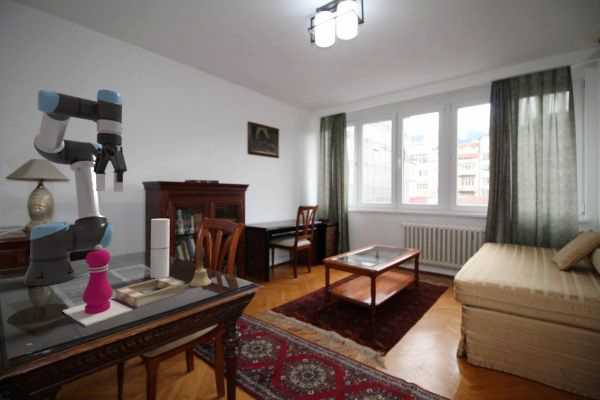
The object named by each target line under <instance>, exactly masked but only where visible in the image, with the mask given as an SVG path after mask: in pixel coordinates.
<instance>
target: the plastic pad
mask: <svg viewBox="0 0 600 400" xmlns="http://www.w3.org/2000/svg"><path fill="white" fill-rule="evenodd" d="M108 301H110V308H109V309H108V310H106V311H104V312H101V313H96V314H87V313H85V306H86V305H87V304H86V303H84V304H80V305H77V306H73V307H70V308H65V309H63V310H62V313H63V312H64V314H65V315H67V316H68V315H69V317H70V318H71V317H72V318H71V319H73V320H74V321H76V322H78V323H79V324H81V325H83V326H84V327H89V326H92V325H95V324H98V323H101V322H103V321H106V320H109V319H112V318H116V317H118V316H121V315H124V314H126V313H127V314H128V313H131V312H132V311H133V308H132V307H129V306H126V305H124V304H122V303H120V302H118V301H116V300H113V299H111V298H110V299H109V300H108Z"/></svg>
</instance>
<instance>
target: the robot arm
mask: <svg viewBox="0 0 600 400" xmlns="http://www.w3.org/2000/svg"><path fill="white" fill-rule="evenodd" d="M36 101H37V102H36V103H37V105H36V106H37V110H38V111H40V112H42V117H41V121H40V122H41V123H40V128H39V131H38V134H37V135H35V137H34V139H33V147H34V149H35V151H36V152H37V153H38V155H40V156H41V157H42V158H44V160H47V161H49V162H51V163H54V164H58V165H66V166H67V165H68V166H69V168H70V170H71V171H72V172H74V179H75V190H76V191H75V192H76V202H77V203H76V204H77V214H78V218H77V219H75V220H74V224H71V222H69V221H66V220H63V221H54V222H48V223H41V224H37V225H35V226H33V227H31V229H30V236H29V240H30V253H29V254H30V256H29V257H30V262H29V266H28V268H27V271H26V272H25V275H24V277H23V285H25V286H27V287H39V286H40V287H42V286H49V285H50V286H51V285H57V284H60V283H64V282H67V281H70V280H72V279H74V278H75V277H76V276H75V275H76V272H75V269H74V267H73V264H72V262H71V259H70V253H74V252H75V253H76V252H83V251H94V250H95V246H96V245H101V246H102V249H106V248H108V247H109V246H110V245H111V243H112V239H113V234H114V225H113V223H112V222H109V221H108V218H107V217H106V216H104V215H103V209H102V208H103V207H102V201H101V199H102V198H101V193H100V192H105V191H106V169H107V166H108V165H109V162H110V163H111V165H112V167H113V171H112V173H113V192H117V193H121V192H122V193H123V192H124V174H125V172H127V171H128V168H127V164H126V161H125V160H126V159H125V157H124V152H123V146H122V144H123V143H122V141H123V137H122V133H123V132H122V131H123V127H122V126H123V125H122V124H123V105H124V104H123V103H124V102H123V97H122V94H120V93H119V92H117V91H114V90H110V89H99V90H98V91H97V95H96V100H91V99H87V98H83V97H78V96H73V95H68V94H66V93H61V92H57V91H55V90H53V91H51V90H46V89H40V90H38V91H37V100H36ZM71 118H75V119H76V118H77V119H81V120H86V121H87V120H88V121H92V122H93V123H96V131H97V134H96V142H97V143H94V142H93V143H92V142H89V141H88V142H86V141H78V140H77V141H76V140H71V139H70V140H69V139H64V138H65V135H66V132H67V129H68V126H69V123H70V121H71Z"/></svg>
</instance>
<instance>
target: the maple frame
mask: <svg viewBox="0 0 600 400" xmlns="http://www.w3.org/2000/svg"><path fill="white" fill-rule="evenodd" d="M156 288H159V289H158V290H155V291H152V292H151V291H150V290H153V289H156ZM146 291H150V292H148V293H142V292H146ZM185 291H186V283H184V282H181V281H177V280H173V279H170V278H167V277H165V278H164V277H161V278H157V279H153V278H152V279H150V280H145V281H143V282H139V283H134V284H131V285H127V286H122V287H120V288H119V287H118V288H116V289H115V299H117V300H119V301H121V302H123V303H126V304H128V305H131V306H132V307H135V308H141V307H144V306H146V305H149V304H152V303H156V302H158V301H161V300H165V299H167V298H171V297H173V296H176V295H179V294H182V293H185Z"/></svg>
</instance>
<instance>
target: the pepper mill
mask: <svg viewBox="0 0 600 400" xmlns="http://www.w3.org/2000/svg"><path fill="white" fill-rule="evenodd" d="M110 261H111V254H110V252H109V251H108V250H106V249H103V248H102V246H101V245H96V246H95V250H90V252H88V253H87V254H86V257H85V263H86V264H87V265H88V267H87V269H88V270H87V272H88V274H89V278H88V279H89V280H88V283H87V285H86V287H85V289H84V291H83V294H82V301H83V302H84V304H87V305H86V306H85V313H87V314H96V313H101V312H104V311H106V310H108V309H109V308H110V301H108V300H109V299H111V298H112V297H113V288H112V286H111V285H110V282H109V280H108V278H107V270H109V264H108V263H109V262H110Z"/></svg>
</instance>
